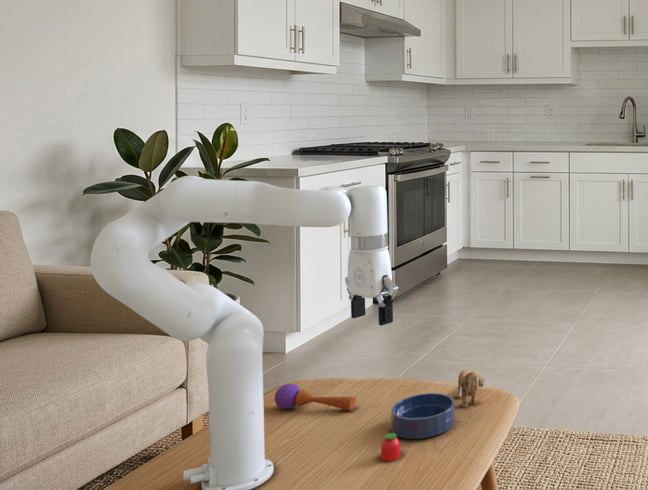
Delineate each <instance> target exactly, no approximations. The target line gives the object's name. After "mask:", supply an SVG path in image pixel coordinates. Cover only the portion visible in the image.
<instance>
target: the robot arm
mask: <svg viewBox="0 0 648 490" xmlns="http://www.w3.org/2000/svg"><path fill="white" fill-rule="evenodd" d="M387 197H388V196H387V190H386V188H385V187H384V186H382V185H378V184H377V185H375V184H374V185H373V184H372V185H371V184H369V185H359V186H355V187H350V186H347V187H345V186H334V185H333V186H324V187H322V188H319V189H299V188H287V187H282V186H276V185H273V184H270V183H267V182H262V181H258V180H257V181H256V180H231V179H230V180H229V179H214V178H213V179H212V178H204V177H201V176H198V175H185V176H181V177H178V178H176V179H174V180H173V181H171V182H169V183H168V184H167V185H166V186H165V188H163V189H162V190H161V191H159V192H158V193H156V194H155V195H153V196H152V197H149V199H147V200H146V201H143V203H141V204H140V205H138V206H137V207H135V208H133V209H132V210H130V211H129V212H127V213H126V214H124V215H122V216H121V217H118V218H116V219H115V220H113V221H111V222H110V223H108V224H107V225H106V226H105V227H104V228H103V229H102V230H101V231H100V233H99V234H98V235H97V237H96V238H95V241H94V243H93V245H92V249H91V252H90V269H91V274H92V275H93V278H94V279H95V282H96V283H97V284H98V285H99V286H100V288H101V289H102V290H104V291H105V292H106V293H107V294H108V295H110V297H112V298H114V299H115V300H117V301H118V302H120V303H122V304H123V305H125V306H126V307H127V308H129V309H130V310H132V311H133V312H134V313H136V314H137V315H139V316H140V317H142V318H143V319H145V320H146V321H148V322H150V323H151V324H152V325H154V326H155V327H156V328H158V329H160V330H161V331H162V332H164V333H166V334H167V335H168V336H170V337H171V338H173V339H176V340H177V341H178V340H179V341H183V342H190V341H195V340H197V339H200V340H202V341H203V342H205V343H206V344H208V346H207V350H206V355H205V356H206V357H205V365H206V367H205V368H206V375H207V393H208V417H209V419H208V423H209V427H208V428H209V457H208V459H207V460H208V461H207V463H203V464H202V466H200V467H195V468H189V469H186V470H183V471H182V472H183V473H182V474H183V482H187V481H190V484H196V483H199V482H201V490H252V489H254V488H257V487H259V486H260V485H262V484H263V483H265V482H266V481H268V480H269V479H270V478H271V477H272V475H273V473H274V470H275V469H274V466H275V465H274V463H273V462H272V461H271V460H269V459H267V458H266V456H265V455H266V454H265V453H266V451H265V446H266V445H265V408H264V407H265V406H264V405H265V404H264V403H265V401H264V399H265V398H264V369H263V356H264V355H263V354H264V352H263V351H264V350H263V348H264V336H265V335H264V334H265V330H264V326H263V323H262V322H261V320H260V319H259V317H257V316H256V315H255V314H254V313H253V312H251V311H250V310H249V309H247V308H246V307H244V306H243V305H241V304H240V303H238V301H235V300H234V299H233V298H231V297H230V296H228V295H227V294H225V293H224V292H222V291H221V290H219V289H218V288H216V287H215V286H212V285H211V284H208V283H205V282H189V283H184V282H183V281H182V280H180V279H178V278H177V277H176V276H174V275H173V274H171V272H169V271H168V270H166V269H164V268H162V267H160V266H158V265H157V264H155V263H153V262H152V261H151V260H150V258H149V254H150V253H151V252H152V251H153V250H154V249H155V248H156V247H158V246H159V245H160V244H161V243H164V241H166V240H167V239H169V238H170V237H172V236H173V235H175V234H176V233H178V232H179V231H180V230H181V229H183V228H185V227H186V226H187V225H188V224H190V223H222V224H223V223H225V224H227V223H228V224H229V223H230V224H256V225H262V226H263V225H264V226H282V227H294V228H295V227H296V228H334V227H338V226H340V225H341V224H344V222H346V221H347V220H348V219H349V223H350V248H349V253H348V259H347V260H348V261H347V276H346V277H345V278H344V281H345V282H344V283H345V285H346V291H347V292H348V294H349V295H348V299H349V300H350V316H351V319H357V318H360V317H364V316H366V298H368V299H375V298H376V300H377V302H378V304H379V306H378V307H377V308H378V309H377V311H378V312H377V313H378V326H381V327H383V326H385V325H386V326H387V325H389V324H391V323H393V322H394V309H393V306H394V305H395V301H396V300H397V296H398V295H397V294H398V291H399V286H398V285H397V284H396V283H395V282H394V281H393V277H392V276H393V274H392V263H391V256H390V250H389V234H388V198H387ZM384 297H385V298H384Z"/></svg>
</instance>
